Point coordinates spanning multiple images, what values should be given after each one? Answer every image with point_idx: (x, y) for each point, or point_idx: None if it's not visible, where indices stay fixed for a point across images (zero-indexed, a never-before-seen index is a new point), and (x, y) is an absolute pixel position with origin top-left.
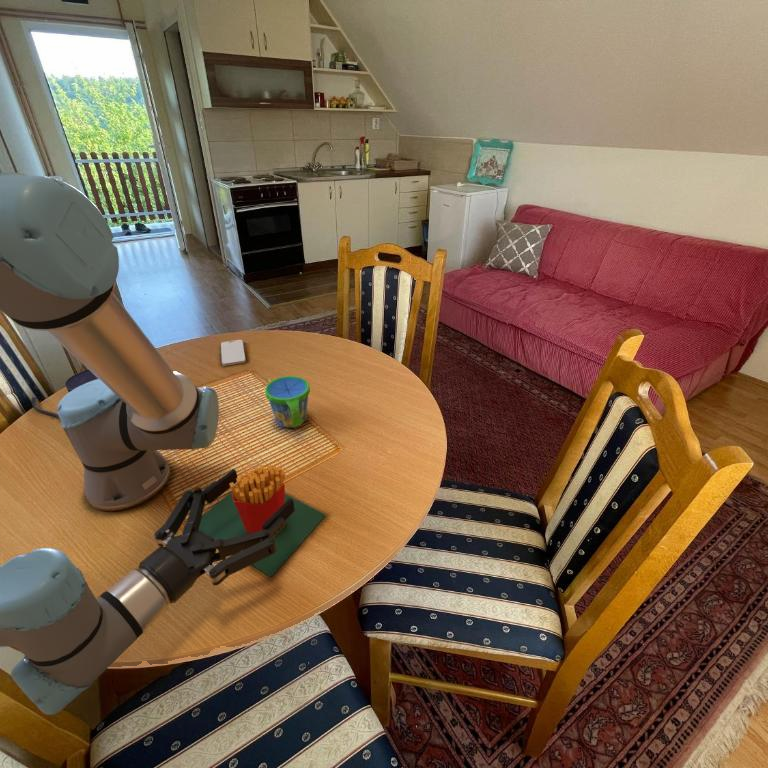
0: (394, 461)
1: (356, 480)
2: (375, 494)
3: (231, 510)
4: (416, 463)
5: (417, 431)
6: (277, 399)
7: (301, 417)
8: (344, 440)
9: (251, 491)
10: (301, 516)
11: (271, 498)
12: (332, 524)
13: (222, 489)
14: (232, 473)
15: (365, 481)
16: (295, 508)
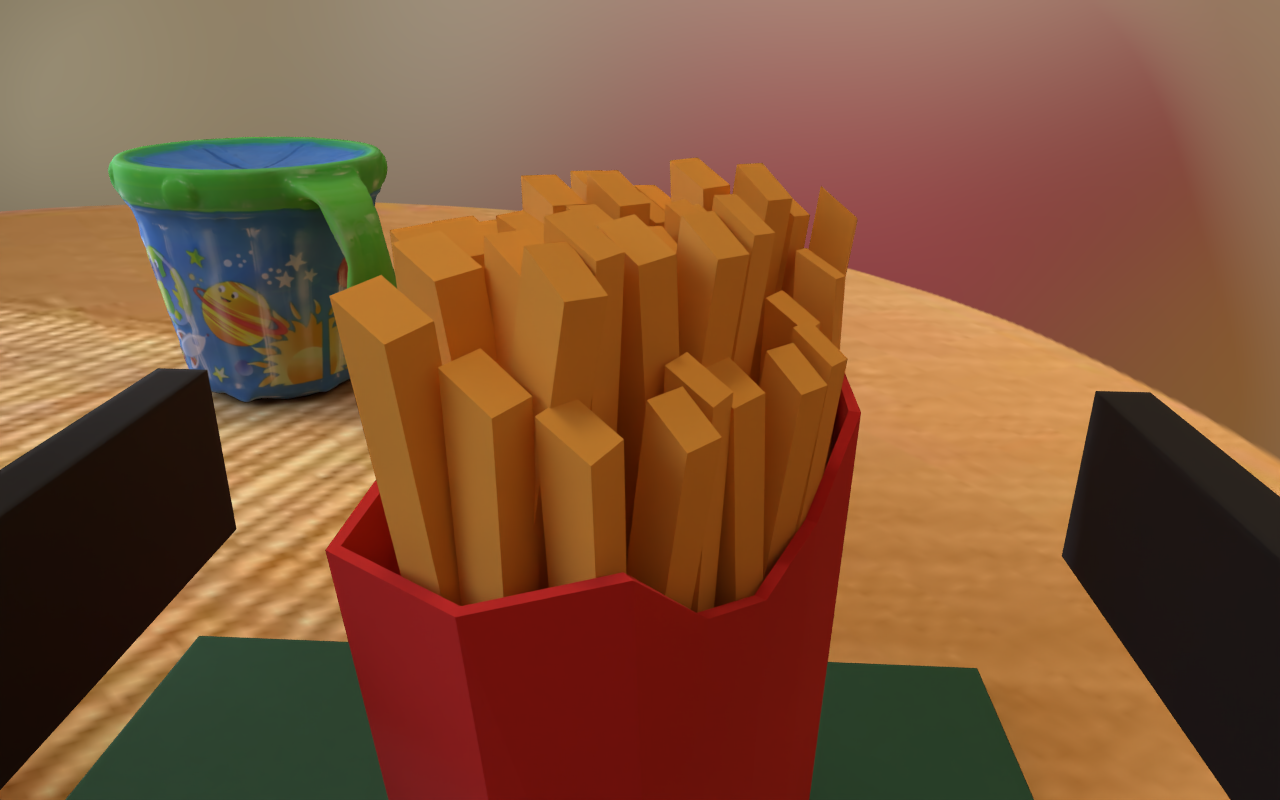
0: (935, 389)
1: (883, 480)
2: (1051, 501)
3: None
4: (1022, 375)
5: (876, 310)
6: (230, 174)
7: None
8: None
9: (674, 394)
10: (840, 739)
11: (825, 502)
12: (1080, 708)
13: (89, 609)
14: (179, 398)
15: (929, 472)
16: None
